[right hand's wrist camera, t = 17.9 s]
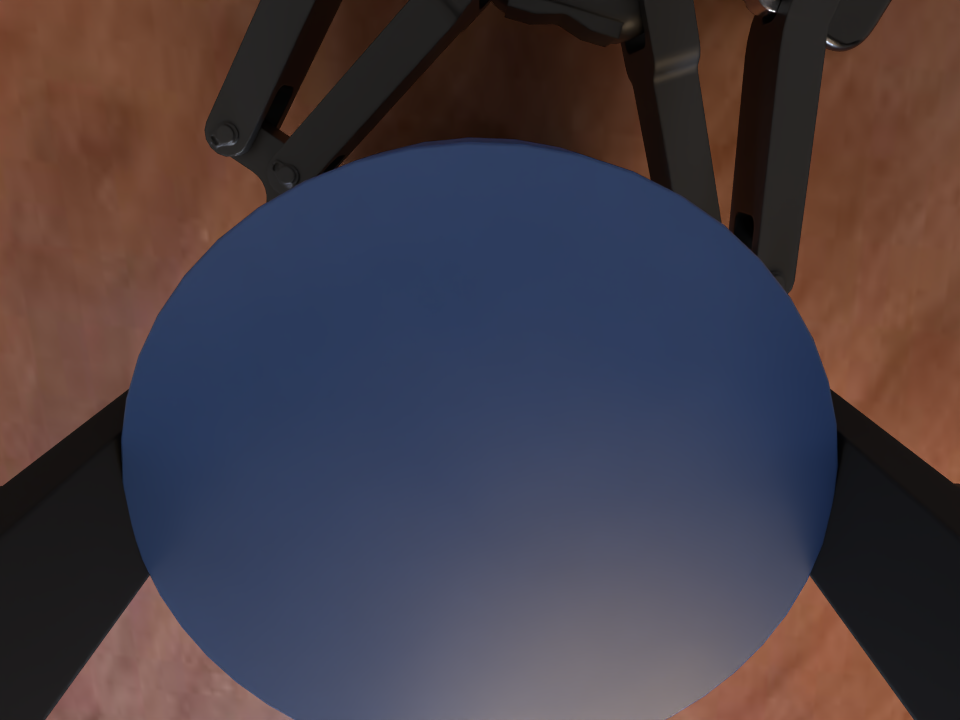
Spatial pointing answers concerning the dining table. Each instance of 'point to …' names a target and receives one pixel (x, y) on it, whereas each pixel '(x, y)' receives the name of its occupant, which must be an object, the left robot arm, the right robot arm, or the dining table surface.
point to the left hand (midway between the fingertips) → (448, 427)
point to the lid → (479, 443)
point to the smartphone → (853, 23)
